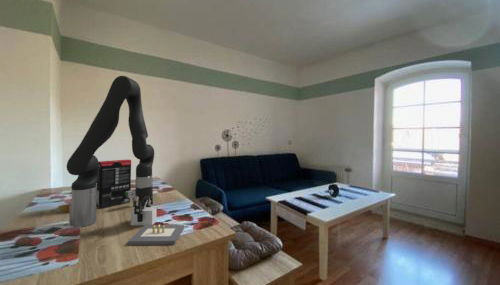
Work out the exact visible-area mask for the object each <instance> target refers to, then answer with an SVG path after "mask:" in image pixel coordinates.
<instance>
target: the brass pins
mask: <svg viewBox="0 0 500 285" xmlns="http://www.w3.org/2000/svg"><path fill="white" fill-rule="evenodd" d="M157 225H158V226H157V233H159V232H160V225H162V233H164V232H165V225H166V224H157ZM152 233H155V224H153V228H152Z"/></svg>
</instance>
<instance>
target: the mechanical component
mask: <svg viewBox="0 0 500 285" xmlns="http://www.w3.org/2000/svg"><path fill="white" fill-rule="evenodd" d="M125 195H126V197H128V198H130V199H131V200H132V207H133V208H134V204H135V201H137V200H138V196H136V195H135V189H131V190H130V191H126V192H125Z"/></svg>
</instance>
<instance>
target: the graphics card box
mask: <svg viewBox="0 0 500 285" xmlns="http://www.w3.org/2000/svg"><path fill="white" fill-rule="evenodd" d="M98 162H99V175H98V181H97V183H96V208H99V209H105V208H108V207H113V206H118V205H122V204H127V203H130V202H131V198H128V197H126V195H125V192H126V191H130V190H132V189H131V188H132V186H131V183H132V181H131V180H132V159H117V160H116V159H114V160H101V161H99V160H98Z"/></svg>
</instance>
